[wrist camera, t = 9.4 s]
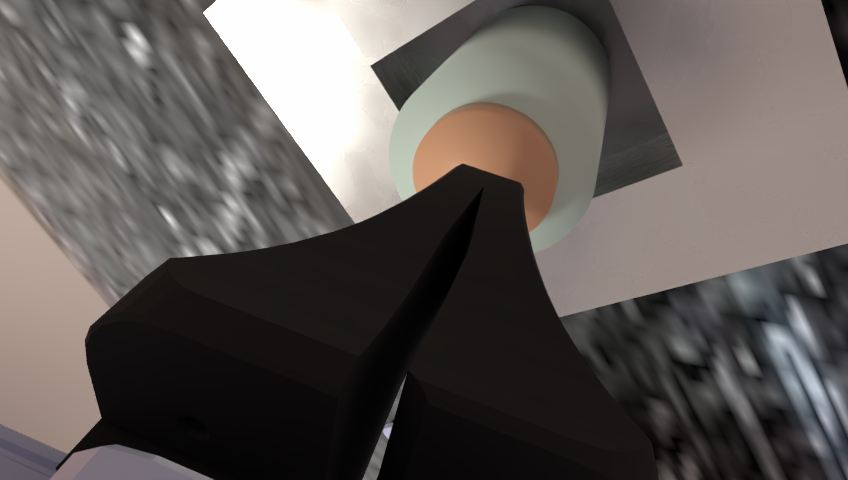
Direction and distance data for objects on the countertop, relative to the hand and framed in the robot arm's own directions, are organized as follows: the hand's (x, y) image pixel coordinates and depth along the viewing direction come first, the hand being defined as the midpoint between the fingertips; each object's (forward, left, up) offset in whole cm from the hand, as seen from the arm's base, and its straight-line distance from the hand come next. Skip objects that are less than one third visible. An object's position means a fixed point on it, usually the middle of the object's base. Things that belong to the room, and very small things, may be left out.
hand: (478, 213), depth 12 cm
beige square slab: (0, 0, -9) cm, 9 cm away
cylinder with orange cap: (0, 0, -8) cm, 8 cm away
